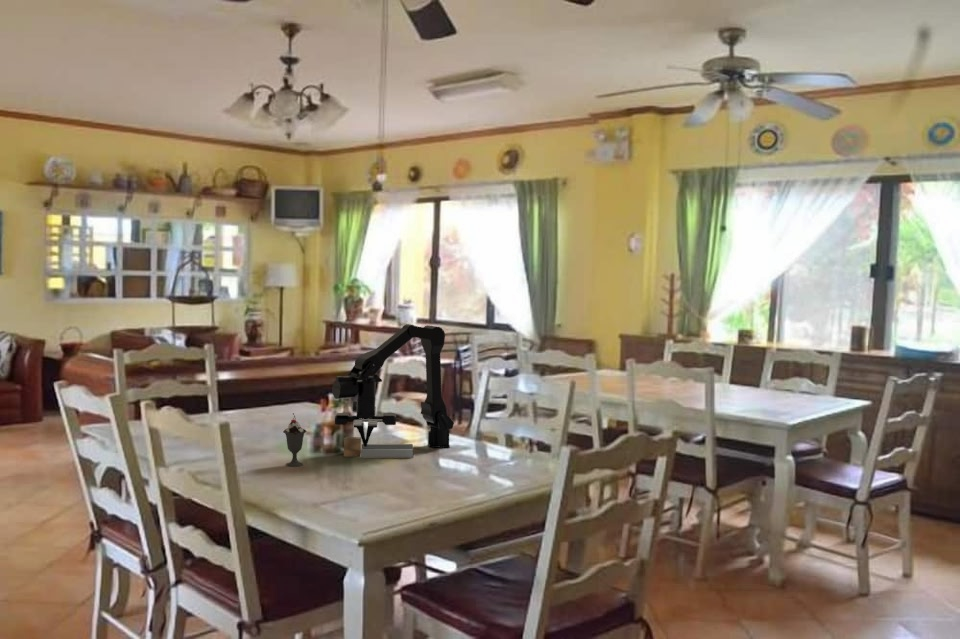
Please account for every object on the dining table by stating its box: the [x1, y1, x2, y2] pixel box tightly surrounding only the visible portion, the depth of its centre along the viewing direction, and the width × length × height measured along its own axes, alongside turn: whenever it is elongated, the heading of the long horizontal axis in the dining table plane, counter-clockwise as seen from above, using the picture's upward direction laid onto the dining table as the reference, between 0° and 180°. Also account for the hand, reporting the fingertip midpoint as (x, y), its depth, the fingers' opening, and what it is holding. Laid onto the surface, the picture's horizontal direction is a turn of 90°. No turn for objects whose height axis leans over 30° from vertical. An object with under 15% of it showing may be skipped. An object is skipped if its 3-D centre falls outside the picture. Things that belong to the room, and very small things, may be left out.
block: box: [343, 436, 362, 458], centre depth 264 cm, size 5×5×5 cm
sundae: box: [283, 413, 307, 468], centre depth 249 cm, size 7×7×15 cm
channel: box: [360, 443, 414, 459], centre depth 265 cm, size 16×8×2 cm, turn 96°
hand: (365, 446), depth 264 cm, fingers closed
